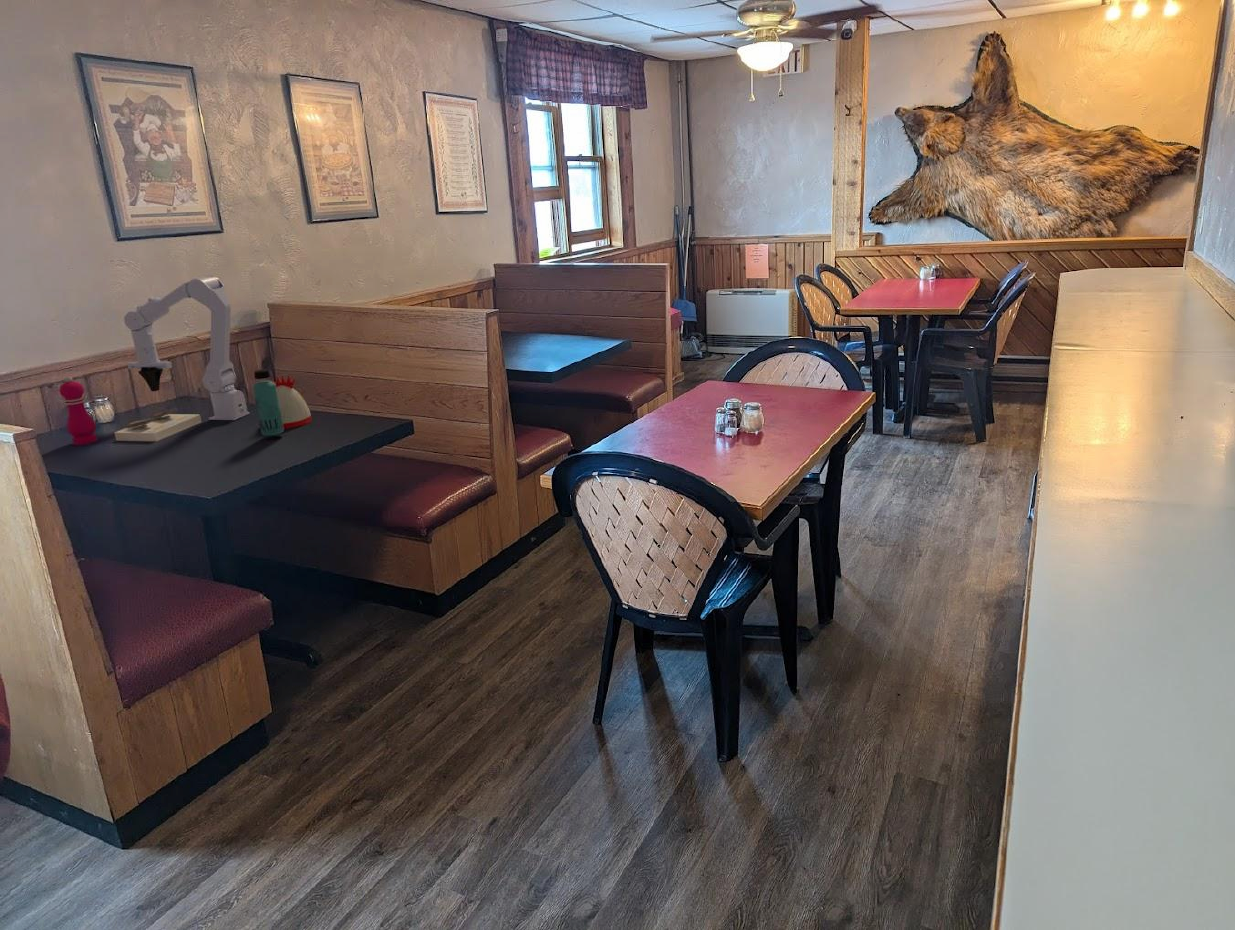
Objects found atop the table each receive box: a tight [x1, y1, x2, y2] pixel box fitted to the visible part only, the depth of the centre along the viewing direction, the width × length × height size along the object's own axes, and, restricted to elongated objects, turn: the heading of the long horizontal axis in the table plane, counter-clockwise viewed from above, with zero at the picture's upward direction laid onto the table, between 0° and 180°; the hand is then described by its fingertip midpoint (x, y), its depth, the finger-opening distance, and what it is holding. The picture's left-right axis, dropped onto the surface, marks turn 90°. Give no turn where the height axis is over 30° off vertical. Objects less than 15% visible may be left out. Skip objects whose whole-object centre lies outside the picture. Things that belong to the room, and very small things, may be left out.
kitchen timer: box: [270, 374, 312, 430], centre depth 261 cm, size 14×14×15 cm
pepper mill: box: [59, 376, 98, 446], centre depth 251 cm, size 7×7×20 cm
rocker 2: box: [150, 407, 179, 419], centre depth 265 cm, size 7×4×1 cm, turn 77°
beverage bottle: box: [252, 368, 285, 436], centre depth 245 cm, size 6×7×20 cm
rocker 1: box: [126, 417, 155, 428], centre depth 256 cm, size 7×4×1 cm, turn 77°
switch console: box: [114, 413, 202, 442], centre depth 261 cm, size 14×20×3 cm
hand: (155, 390), depth 273 cm, fingers closed
